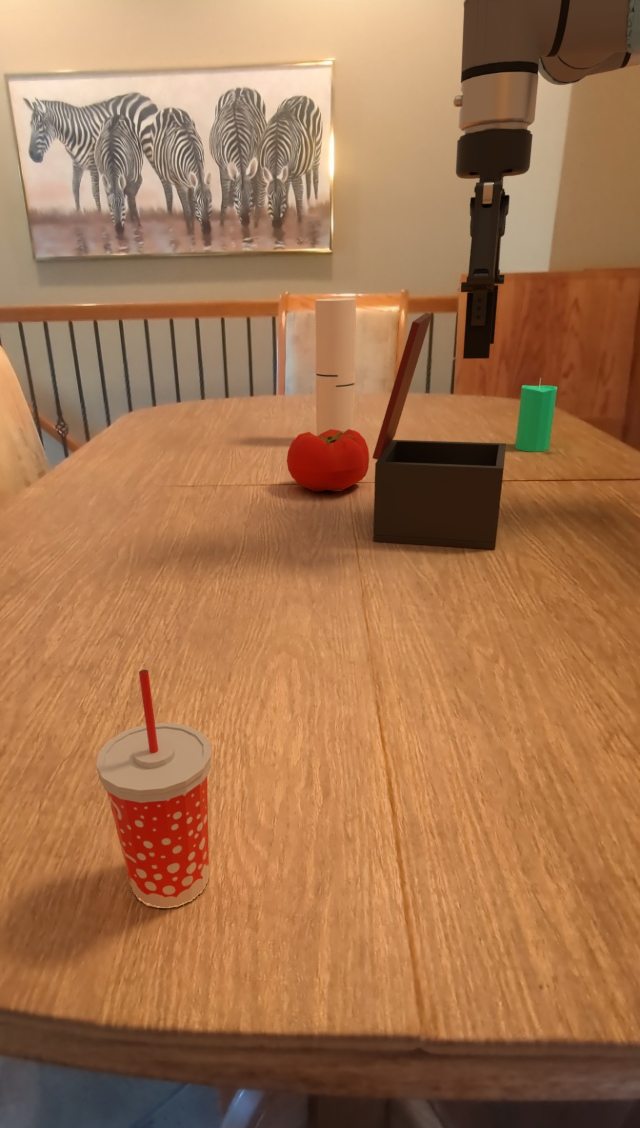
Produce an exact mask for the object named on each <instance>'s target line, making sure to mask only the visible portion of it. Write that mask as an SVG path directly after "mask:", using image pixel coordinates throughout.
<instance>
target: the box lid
mask: <svg viewBox="0 0 640 1128" xmlns="http://www.w3.org/2000/svg"><path fill="white" fill-rule="evenodd" d="M432 316H433V315H432V313H429V312H425V313H423V314H422V315H420V316H419V317H418V318H416V319H414V320H413V321H412V322H411V326H410V328H409V332H408V335H407V339H406V342H405V346H404V350H403V352H402V355H401V358H400V363H399V366H398V370H397V373H396V376H395V380H394V383H393V387H392V389H391V393H390V397H389V400H388V403H387V407H386V410H385V413H384V418H383V420H382V424H381V427H380V431H379V434H378V437H377V441H376V444H375V448H374V452H373V454H372V459H373V460H376V461H377V460H379V459H380V457H381V456H382V454H383V453H384V451H385V450H386V448H387V447H388V445H389V444H390V443H391V441H392V440H394V438H395V437H396V434H397V430H398V427H399V424H400V420H401V417H402V414H403V411H404V407H405V404H406V402H407V401H406V400H407V397H408V394H409V390H410V387H411V384H412V381H413V378H414V375H415V371H416V368H417V365H418V361H419V358H420V355H421V352H422V348H423V345H424V341H425V338H426V337H427V336H426V335H427V332H428V328H429V325H430V322H431V319H432Z"/></svg>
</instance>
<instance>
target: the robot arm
mask: <svg viewBox="0 0 640 1128" xmlns="http://www.w3.org/2000/svg"><path fill="white" fill-rule="evenodd" d="M463 1H464V2H463V20H462V21H463V22H462V23H463V24H462V45H461V46H462V47H461V70H460V74H461V75H460V83H461V84H460V91H461V93H462V95H460V94H459V95H455V96H454V99H453V106H454V107H455V108H459V115H458V128H459V129H460V130H461V132H464V134H463V135H460V136H459V139H457V141H456V158H455V159H456V160H455V161H456V162H455V175H456V176H457V178H460V179H466V180H474V179H478V181H477V182H476V183H475V186H474V187H473V189H474V190H473V193H474V195H475V196H471V197H470V199H469V200H470V201H469V216H470V223H469V237H470V239H471V241H470V251H469V262H468V274H467V276H466V281H461V282H460V293H466V305H465V307H466V308H465V320H464V321H465V322H464V335H463V336H464V339H463V340H464V341H463V354H462V355H463V356H462V357H463V358H462V359H463V360H464V359H465V360H467V359H468V360H470V359H471V360H472V359H473V360H474V359H479V360H480V359H490V354H491V353H490V352H491V345H494V344H495V334H496V321H497V310H498V309H497V308H498V296H499V285H505V274H501V269H500V257H501V245H502V243H501V242H502V237H504V235H505V233H506V225H507V224H506V222H507V216H508V214H509V209H510V197H511V196H510V194H506V191H505V188H504V178H505V177H514V176H520V175H525V174H526V173H527V172H528V171H529V170H530V167H531V158H532V157H531V156H532V147H533V133H532V132H531V130H530V129H528V127H529V126H531V125H532V124H533V123H534V122H535V119H536V108H537V96H538V87H539V74H540V77H542V78H543V79H544V80H545V81H547V82H548V83H550V84H552V85H554V86H555V85H557V86H567V85H570V84H575V83H579V82H580V81H581V80H583V79H585V78H586V77H590V76H593V75H598V74H603V73H609V72H613V71H617V70H620V69H625V68H630V67H634V66H635V67H636V66H638V65H639V66H640V0H463Z"/></svg>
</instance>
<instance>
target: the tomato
mask: <svg viewBox="0 0 640 1128" xmlns="http://www.w3.org/2000/svg"><path fill="white" fill-rule="evenodd" d="M342 432H343V431H342ZM342 432H341V431H340V430H332V429H330V430H328V431H326V432H323V433H321V434H320V435H319V436H317V435H315V434H314V433H312V432H310V431H307V432H302V433H299V434H298V435H297V436H296V437H295V438H294V439H293V440H292V442H291V443H290V446H289V448H288V450H287V456H286V465H287V470H288V473H289V474H290V476H291V478H292V479H293V480H294V481H295V482H296V484H297V485H298V486H300V487H303V488H305V489H308V490H310V491H312V492H315V493H317V492H324V491H330V492H342V491H344V490H346V489H348V488H350V487H352V486H354V485H355V484H357V483H360V481H362V480H363V479H364V478H365V477H366V476H367V473H368V471H369V467H370V450H369V447H368V443H367V441H366V439H365V437H363V436H362V435H361V433H360V432H359V431H356V430H355V429H354V430H350V429H348V430H346V431H345V432H344V433H342Z"/></svg>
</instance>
